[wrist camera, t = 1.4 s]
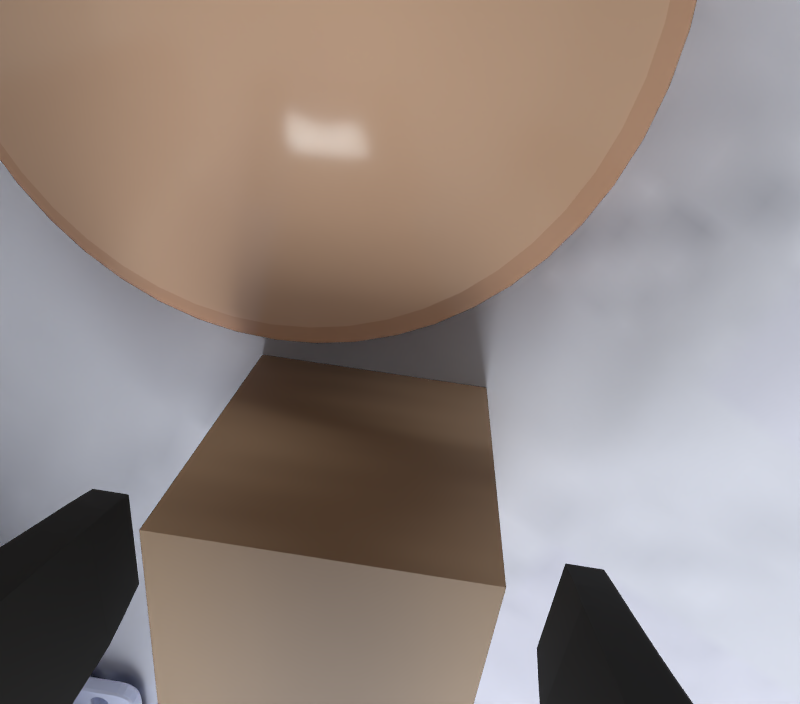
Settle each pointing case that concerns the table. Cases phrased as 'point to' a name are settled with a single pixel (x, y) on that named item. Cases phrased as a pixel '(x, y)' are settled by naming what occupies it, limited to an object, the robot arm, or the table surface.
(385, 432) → the walnut block
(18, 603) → the robot arm
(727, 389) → the table surface
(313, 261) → the pedestal
